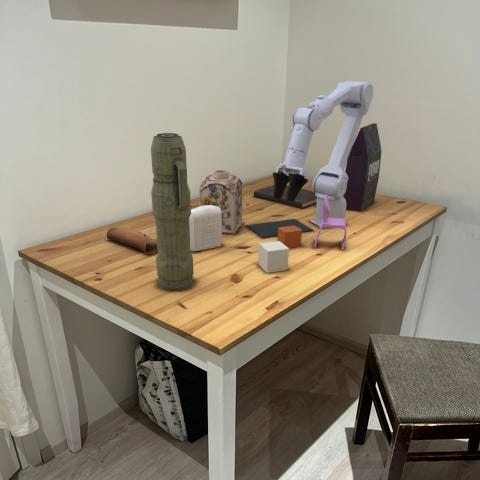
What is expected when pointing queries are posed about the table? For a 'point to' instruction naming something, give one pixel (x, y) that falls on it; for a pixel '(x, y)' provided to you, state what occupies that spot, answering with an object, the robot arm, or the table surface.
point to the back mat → (275, 227)
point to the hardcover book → (301, 201)
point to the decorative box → (363, 169)
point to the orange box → (290, 236)
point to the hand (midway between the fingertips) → (283, 199)
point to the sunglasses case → (133, 239)
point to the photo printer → (205, 227)
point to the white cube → (273, 256)
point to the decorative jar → (223, 198)
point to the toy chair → (330, 221)
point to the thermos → (171, 212)
